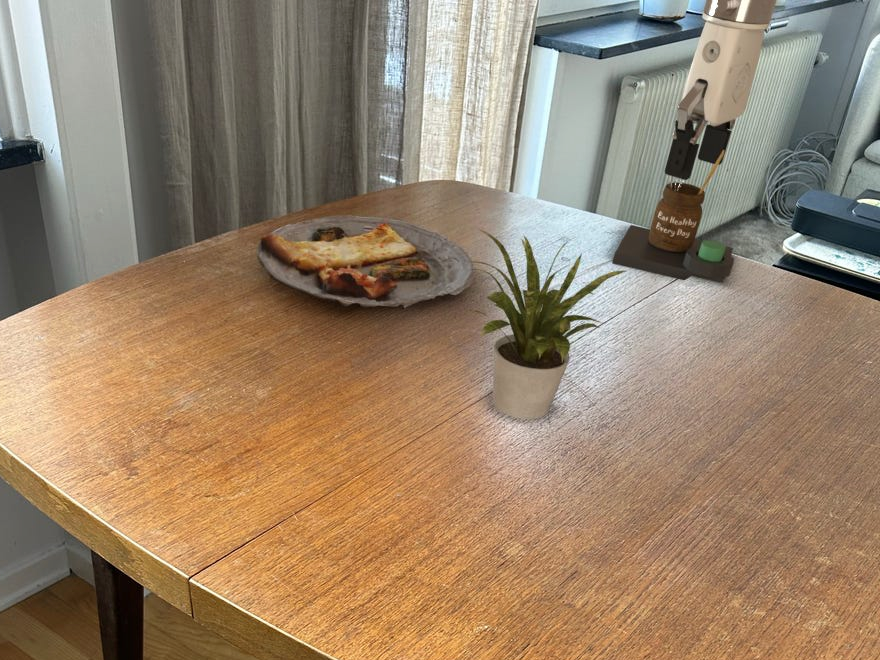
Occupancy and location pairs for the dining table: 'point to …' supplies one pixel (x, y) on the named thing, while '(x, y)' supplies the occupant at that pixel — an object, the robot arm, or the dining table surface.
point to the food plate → (365, 261)
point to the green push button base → (669, 258)
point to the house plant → (533, 337)
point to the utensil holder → (678, 215)
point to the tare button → (712, 251)
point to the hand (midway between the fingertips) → (693, 169)
